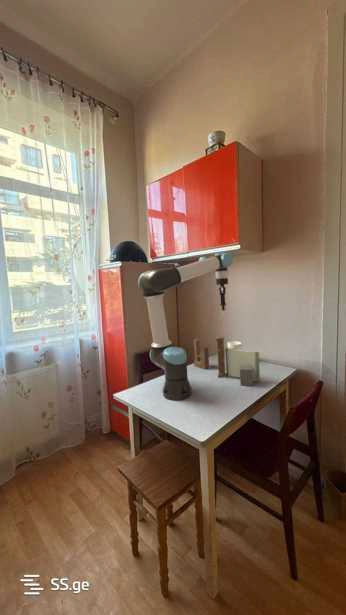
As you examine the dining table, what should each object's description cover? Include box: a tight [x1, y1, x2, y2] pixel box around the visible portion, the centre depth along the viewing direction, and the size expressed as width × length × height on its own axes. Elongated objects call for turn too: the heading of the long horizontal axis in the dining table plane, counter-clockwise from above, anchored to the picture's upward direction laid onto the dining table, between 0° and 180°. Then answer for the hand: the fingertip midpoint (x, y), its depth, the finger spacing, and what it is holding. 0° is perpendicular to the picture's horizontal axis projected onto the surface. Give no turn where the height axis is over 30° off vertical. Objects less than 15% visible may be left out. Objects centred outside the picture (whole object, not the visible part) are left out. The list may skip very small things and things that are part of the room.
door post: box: [215, 336, 228, 379], centre depth 147 cm, size 5×5×23 cm
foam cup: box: [227, 340, 243, 350], centre depth 172 cm, size 10×9×13 cm
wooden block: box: [193, 338, 210, 370], centre depth 165 cm, size 4×11×18 cm, turn 38°
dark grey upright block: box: [239, 366, 253, 387], centre depth 135 cm, size 6×6×9 cm
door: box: [224, 347, 261, 382], centre depth 141 cm, size 19×2×16 cm, turn 53°
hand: (223, 315), depth 158 cm, fingers closed
